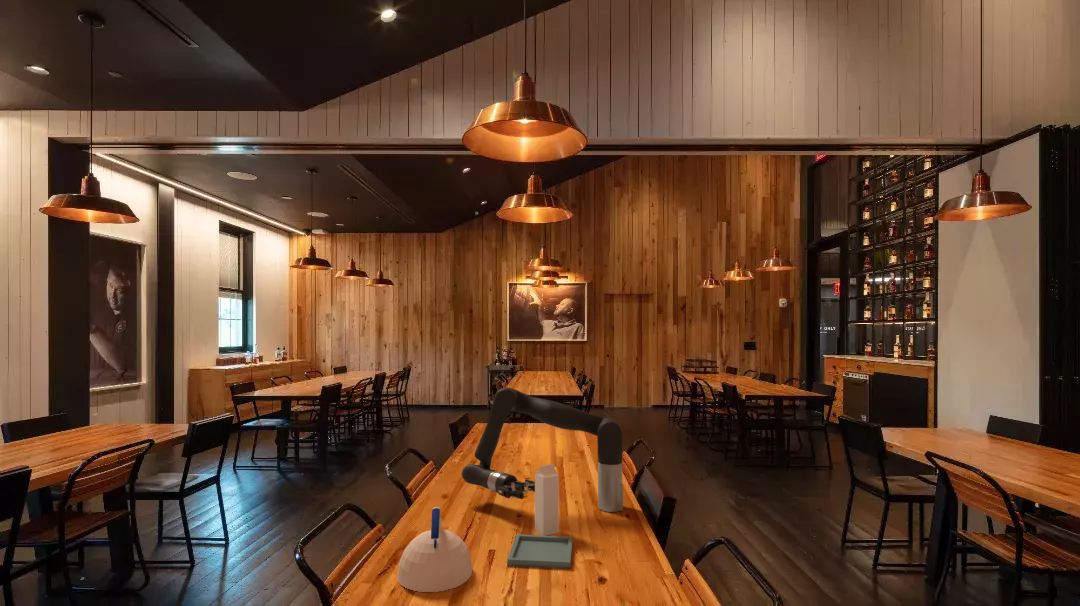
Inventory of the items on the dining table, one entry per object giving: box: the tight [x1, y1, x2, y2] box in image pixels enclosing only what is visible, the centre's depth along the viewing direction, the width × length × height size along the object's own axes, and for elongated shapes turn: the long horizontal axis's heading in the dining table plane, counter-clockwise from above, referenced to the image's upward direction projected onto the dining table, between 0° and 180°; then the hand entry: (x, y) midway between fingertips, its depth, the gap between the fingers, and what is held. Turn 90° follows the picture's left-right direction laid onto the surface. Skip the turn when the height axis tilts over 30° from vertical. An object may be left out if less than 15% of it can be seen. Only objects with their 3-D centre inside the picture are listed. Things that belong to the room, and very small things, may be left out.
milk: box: [534, 463, 560, 536], centre depth 172 cm, size 6×6×22 cm
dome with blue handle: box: [397, 506, 473, 593], centre depth 142 cm, size 20×21×18 cm
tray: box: [506, 534, 574, 570], centre depth 155 cm, size 18×18×2 cm
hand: (532, 493), depth 178 cm, fingers open, 8 cm apart
